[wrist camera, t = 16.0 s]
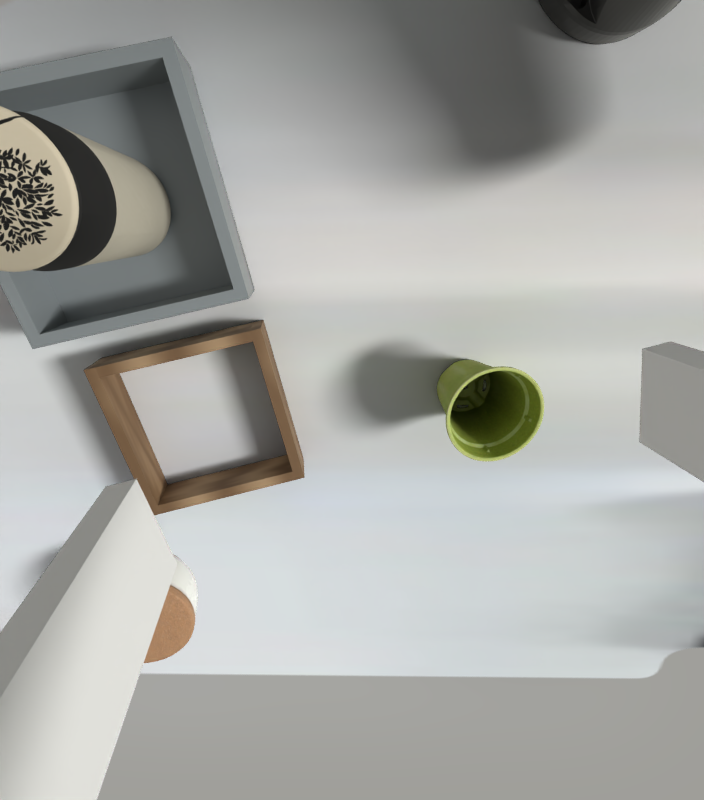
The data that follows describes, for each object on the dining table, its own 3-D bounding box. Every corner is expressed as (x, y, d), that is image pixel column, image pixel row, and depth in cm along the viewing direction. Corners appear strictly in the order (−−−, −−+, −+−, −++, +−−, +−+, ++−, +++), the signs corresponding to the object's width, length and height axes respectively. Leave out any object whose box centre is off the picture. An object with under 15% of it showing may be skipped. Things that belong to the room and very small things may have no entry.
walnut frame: (263, 319, 44) (260, 328, 40) (303, 458, 50) (304, 477, 46) (101, 358, 43) (83, 370, 39) (162, 494, 49) (151, 516, 45)
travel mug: (182, 249, 40) (104, 264, 23) (91, 262, 39) (-57, 288, 22) (156, 148, 37) (43, 81, 20) (56, 161, 36) (-144, 103, 19)
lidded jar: (181, 522, 51) (158, 582, 42) (221, 588, 55) (208, 656, 46) (92, 553, 51) (52, 621, 42) (139, 618, 55) (110, 691, 46)
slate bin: (190, 66, 36) (171, 36, 30) (254, 289, 43) (249, 298, 37) (-36, 113, 35) (-97, 92, 29) (66, 333, 42) (32, 349, 36)
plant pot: (420, 428, 50) (444, 466, 42) (422, 346, 47) (449, 371, 39) (499, 421, 51) (538, 457, 43) (506, 341, 48) (550, 363, 40)
